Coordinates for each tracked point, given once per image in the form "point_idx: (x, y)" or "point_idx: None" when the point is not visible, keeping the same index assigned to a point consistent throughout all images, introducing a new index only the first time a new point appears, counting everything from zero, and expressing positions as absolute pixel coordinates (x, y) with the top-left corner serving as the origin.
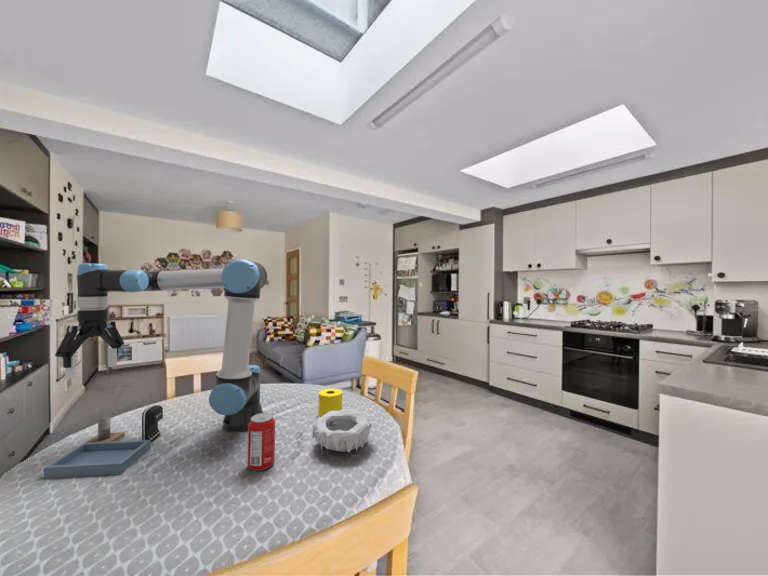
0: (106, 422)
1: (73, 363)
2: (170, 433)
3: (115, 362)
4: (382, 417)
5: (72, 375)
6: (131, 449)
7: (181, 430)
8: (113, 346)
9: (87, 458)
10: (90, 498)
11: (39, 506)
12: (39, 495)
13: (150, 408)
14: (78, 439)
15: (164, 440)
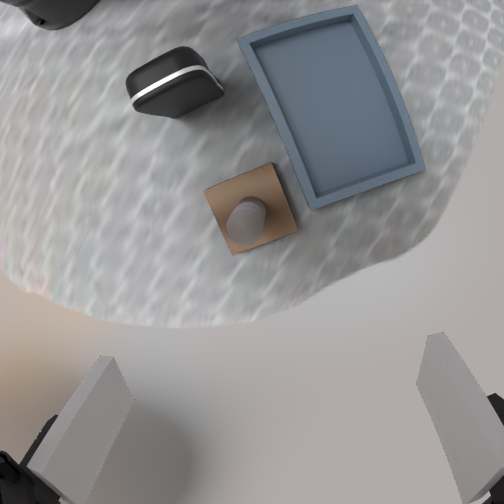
0: (250, 207)
1: (489, 415)
2: None
3: (94, 377)
4: None
5: (451, 345)
6: (269, 76)
7: None
8: (42, 499)
9: (340, 144)
10: (422, 10)
11: (464, 76)
12: (449, 109)
13: (167, 72)
14: (259, 294)
15: None
